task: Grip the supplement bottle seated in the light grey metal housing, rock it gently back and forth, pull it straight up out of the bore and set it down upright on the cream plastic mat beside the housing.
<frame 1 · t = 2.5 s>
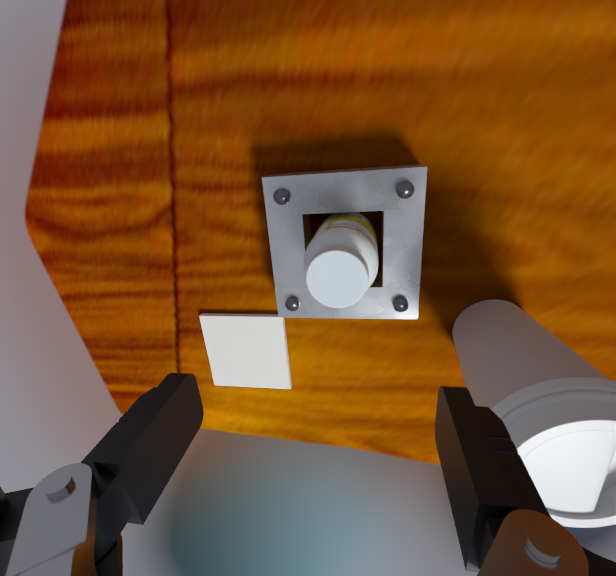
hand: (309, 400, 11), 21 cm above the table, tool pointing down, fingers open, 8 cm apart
mat: (247, 350, 36), on the table
supplement bottle: (346, 239, 30), resting in housing
coffee cup: (488, 329, 31), on the table
housing: (345, 240, 29), on the table
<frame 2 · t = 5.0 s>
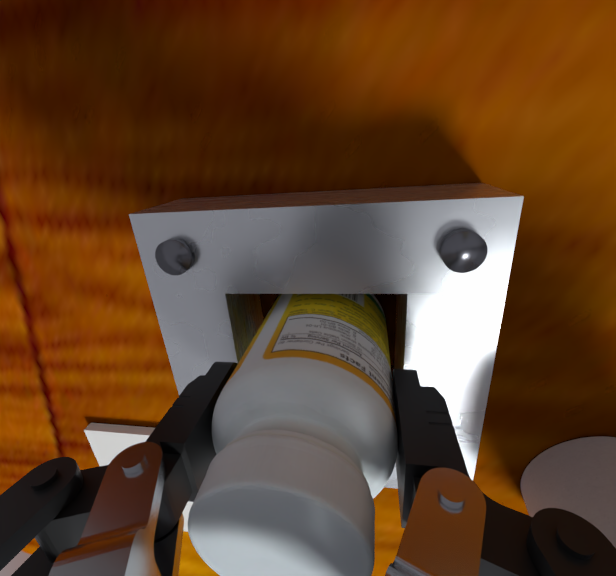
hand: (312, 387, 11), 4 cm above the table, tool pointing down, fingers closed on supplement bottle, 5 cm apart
mat: (171, 478, 22), on the table
supplement bottle: (327, 321, 16), resting in housing, touching gripper
coffee cup: (588, 480, 17), on the table
housing: (327, 323, 15), on the table
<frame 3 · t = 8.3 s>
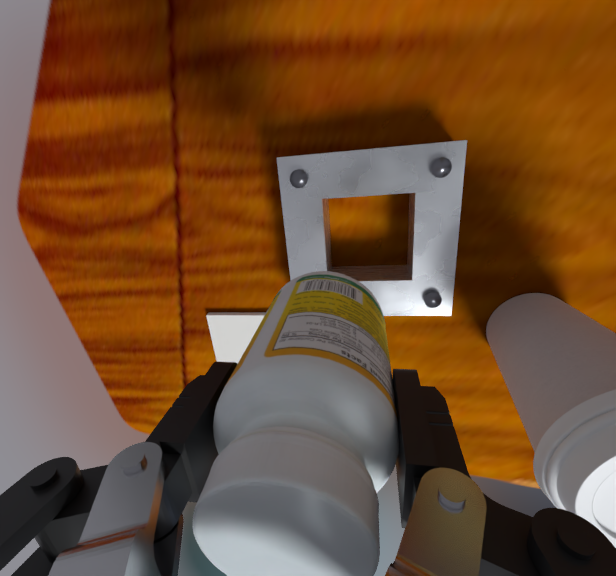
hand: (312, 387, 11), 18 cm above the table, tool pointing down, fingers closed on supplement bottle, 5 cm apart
mat: (259, 352, 33), on the table
supplement bottle: (325, 319, 16), point 13 cm above the table, touching gripper
coffee cup: (526, 326, 28), on the table
housing: (368, 229, 27), on the table
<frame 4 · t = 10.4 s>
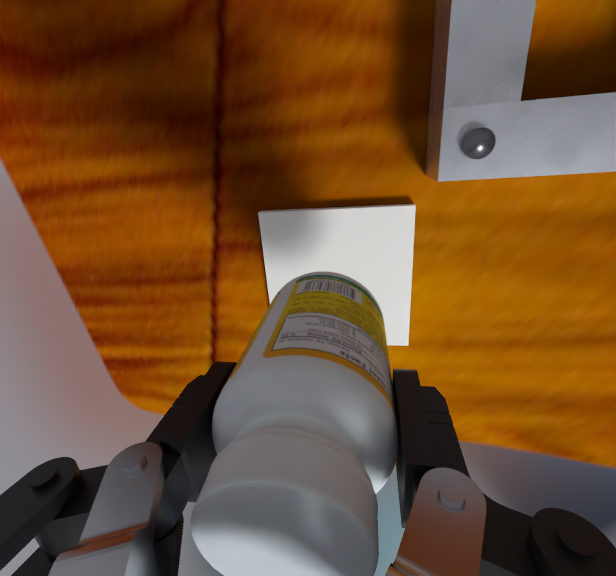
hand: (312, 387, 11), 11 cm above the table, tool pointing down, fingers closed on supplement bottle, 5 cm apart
mat: (337, 278, 21), on the table
supplement bottle: (325, 320, 16), point 6 cm above the table, touching gripper
housing: (576, 23, 15), on the table
when the fingers open (6 cm above the table, at t = 12.1 s): supplement bottle drops 1 cm, resting on mat.
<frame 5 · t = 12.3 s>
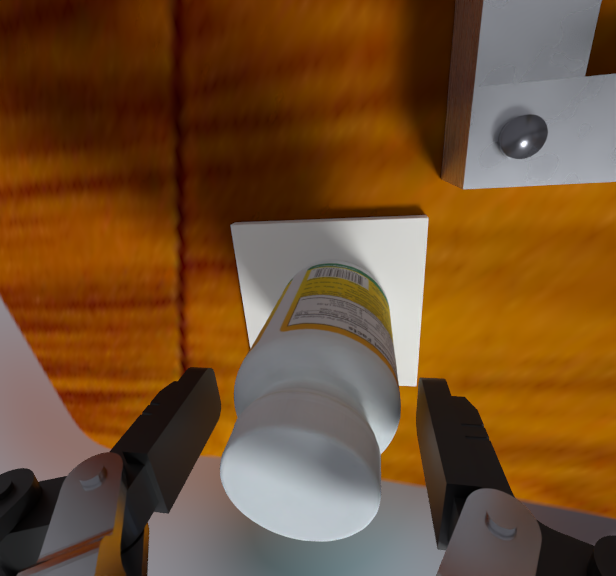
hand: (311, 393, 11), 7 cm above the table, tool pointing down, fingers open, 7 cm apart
mat: (329, 305, 17), on the table
supplement bottle: (334, 306, 17), resting on mat
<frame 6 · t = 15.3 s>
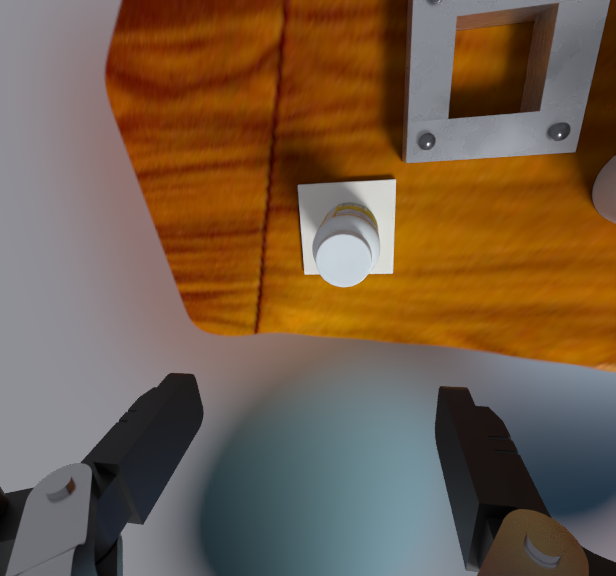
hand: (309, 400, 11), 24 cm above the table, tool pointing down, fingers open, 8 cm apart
mat: (347, 229, 33), on the table
supplement bottle: (349, 229, 32), resting on mat
housing: (483, 74, 26), on the table
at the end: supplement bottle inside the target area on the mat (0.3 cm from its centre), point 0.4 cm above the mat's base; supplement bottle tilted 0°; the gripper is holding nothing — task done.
